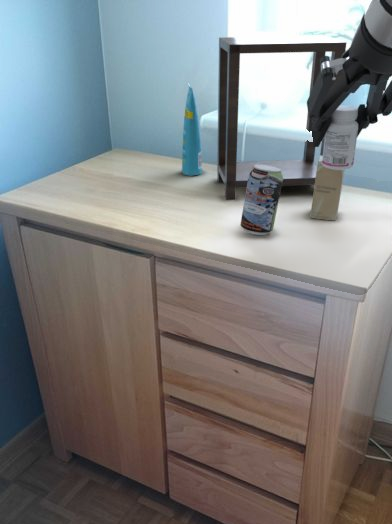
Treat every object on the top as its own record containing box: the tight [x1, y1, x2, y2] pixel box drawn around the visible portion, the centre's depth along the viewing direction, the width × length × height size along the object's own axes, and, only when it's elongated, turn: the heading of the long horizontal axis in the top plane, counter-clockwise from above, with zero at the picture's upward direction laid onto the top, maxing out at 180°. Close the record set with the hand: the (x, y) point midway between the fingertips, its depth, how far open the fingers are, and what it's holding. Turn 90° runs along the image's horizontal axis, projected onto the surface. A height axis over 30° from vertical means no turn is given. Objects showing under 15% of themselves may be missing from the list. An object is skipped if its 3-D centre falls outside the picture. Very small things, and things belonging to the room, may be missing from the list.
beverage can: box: [240, 164, 283, 236], centre depth 100 cm, size 6×7×12 cm
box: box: [309, 155, 346, 221], centre depth 107 cm, size 5×4×11 cm
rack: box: [216, 35, 347, 201], centre depth 117 cm, size 14×22×29 cm, turn 96°
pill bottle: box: [322, 104, 358, 170], centre depth 84 cm, size 5×5×8 cm
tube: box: [181, 83, 203, 177], centre depth 129 cm, size 7×5×19 cm, turn 12°
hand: (332, 138), depth 88 cm, fingers closed on pill bottle, 5 cm apart
